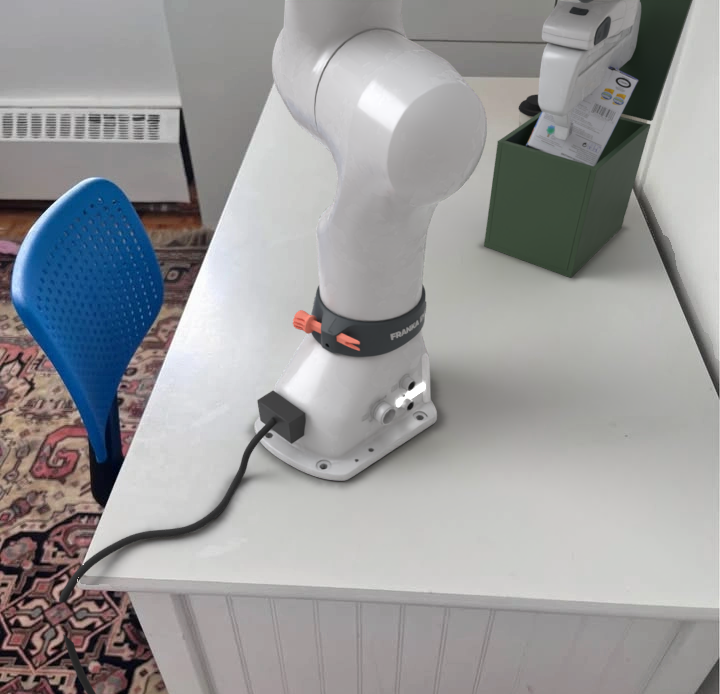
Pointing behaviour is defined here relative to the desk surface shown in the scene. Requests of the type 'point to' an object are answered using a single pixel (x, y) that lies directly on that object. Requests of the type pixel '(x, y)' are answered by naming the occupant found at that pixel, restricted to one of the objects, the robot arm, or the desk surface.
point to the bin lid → (654, 53)
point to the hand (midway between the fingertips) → (581, 120)
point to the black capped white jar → (528, 109)
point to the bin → (561, 198)
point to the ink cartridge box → (587, 121)
